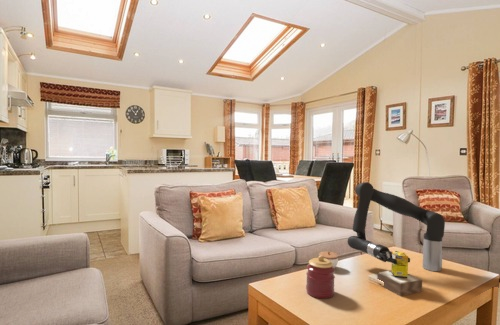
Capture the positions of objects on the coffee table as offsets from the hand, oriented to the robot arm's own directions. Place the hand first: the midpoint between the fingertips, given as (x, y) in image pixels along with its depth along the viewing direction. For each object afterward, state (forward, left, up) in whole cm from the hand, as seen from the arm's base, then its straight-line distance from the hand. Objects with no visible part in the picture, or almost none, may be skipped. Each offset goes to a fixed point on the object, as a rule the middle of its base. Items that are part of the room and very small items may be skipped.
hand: (403, 261), depth 146 cm
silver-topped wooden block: (0, -2, -14) cm, 14 cm away
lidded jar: (+18, -35, -14) cm, 42 cm away
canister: (+41, -10, -14) cm, 44 cm away
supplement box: (0, -2, -8) cm, 8 cm away
